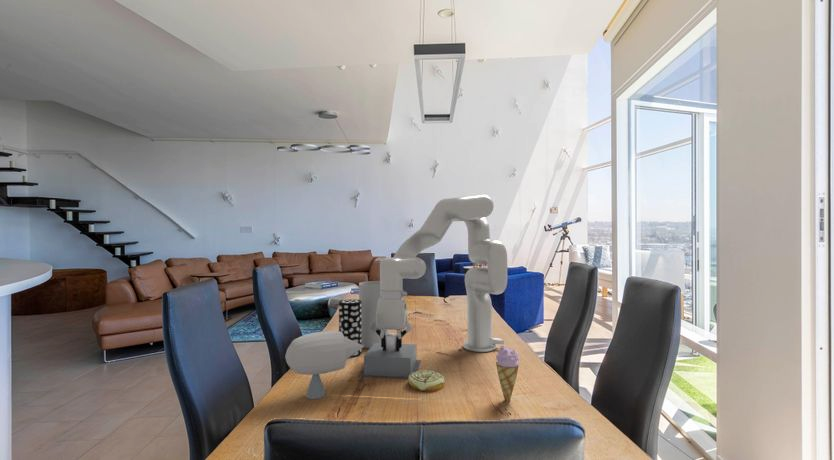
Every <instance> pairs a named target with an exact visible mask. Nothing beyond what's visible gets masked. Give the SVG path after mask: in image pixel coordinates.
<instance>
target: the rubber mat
mask: <svg viewBox="0 0 834 460" xmlns="http://www.w3.org/2000/svg"><path fill="white" fill-rule="evenodd" d="M421 362H422V360H421V359H417V362H416V364H415V367H414V370H413V372H416V371H419V368H420V366H421ZM413 372H412V373H413ZM357 377H358V378H375V379H376V378H377V379H380V378H381V379H397V380H398V379H399V380H408V378H409V377H396V376H373V375H364V368H362V371H361V372H360V373H359V374H358V376H357Z"/></svg>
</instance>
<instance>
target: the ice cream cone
mask: <svg viewBox="0 0 834 460" xmlns="http://www.w3.org/2000/svg"><path fill="white" fill-rule="evenodd" d="M498 350H499V351H498V352H497V354H496V357H495V358H496V362H495V365H496V369H497V376H498V379H499V380H498V381H499V384H500V388H501V390H502V391H501V392H502V396H503V398H504V399H503V400H504V401H505V402H510V401H511V399H512V395H513V391H514V388H515V385H516V380H517V376H518V370H519V365H520V360H519V353H518V351H516V350H515V349H513V350H512V349H511V347H508V346H504V345H501V346H500V347H499V348H498Z"/></svg>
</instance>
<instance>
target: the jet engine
mask: <svg viewBox="0 0 834 460" xmlns="http://www.w3.org/2000/svg"><path fill="white" fill-rule="evenodd" d="M363 348H364V346H363V345H361V344H359V343H357V342H354V341H352V340H350V339H347V338H345V337H344V335H343V333H342V332H340V331H339V330H337V331H335V330H334V331H317V332H312V333H311V332H310V333H307V334H303V335H301V336H299V337H297V338H294V339H293V340H292V341H291V343H290V344H289V346H288V347H287V349H286V353H285V362H286V364H287V366H288V367H289V368H290V369H291V370H292V371H293V372H294V373H297V374H300V375H309V376H311V379H310V381H309V385H308V387H307V390H306V394H305V395H306V399H307V398H308V399H311V400H315V399H321V398H323V397H325V396H327V393H326V390H325V387H324V384H323V382H322V379H321V375H322V374H329V373H332V372H336V371H340V370H343V369H344V368H345V367H346V364H347V360H348V359H349V357H351V356H352V355H353V354H355V353H356V352H358V351H359V350H360V349H362V350H363Z"/></svg>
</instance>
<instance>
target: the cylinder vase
mask: <svg viewBox="0 0 834 460" xmlns="http://www.w3.org/2000/svg"><path fill="white" fill-rule="evenodd" d="M379 298H380V280H375V281H374V280H373V281H370V280H369V281H362V282H359V283H358V300H361V304H362V345H363V346H364V347H363V348H365V349H370V348H371V347H372V346H373V344H374V343H381V338H380V336H379V335H378V334H377V333H376V332H375V331H373V330H372V329H371V326H372V325H373V323H374V322H375V320H376V311H377V303H378V299H379ZM380 330H381V329H380ZM386 334H391V330H388V329H386V333H385V335H386Z"/></svg>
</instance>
